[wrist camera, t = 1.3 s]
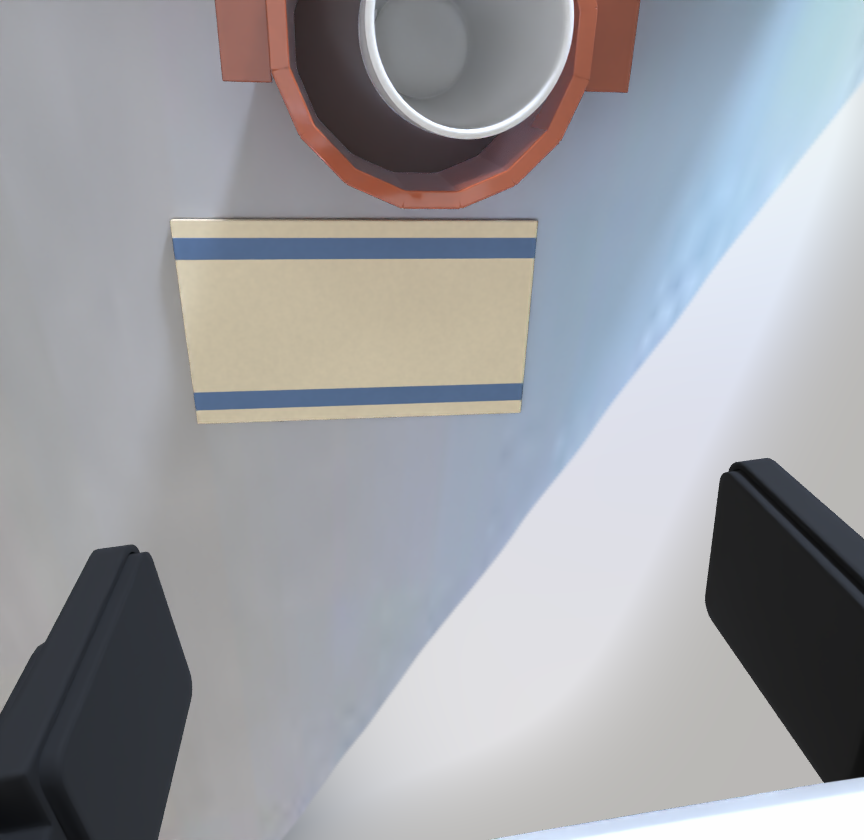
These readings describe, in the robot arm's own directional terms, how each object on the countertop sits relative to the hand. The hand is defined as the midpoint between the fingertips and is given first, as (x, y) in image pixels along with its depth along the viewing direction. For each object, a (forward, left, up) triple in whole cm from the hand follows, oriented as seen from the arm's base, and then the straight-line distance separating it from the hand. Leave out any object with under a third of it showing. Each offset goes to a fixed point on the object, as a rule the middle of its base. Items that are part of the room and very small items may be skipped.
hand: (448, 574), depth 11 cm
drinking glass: (+3, +9, -30) cm, 32 cm away
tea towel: (0, -6, -30) cm, 31 cm away
